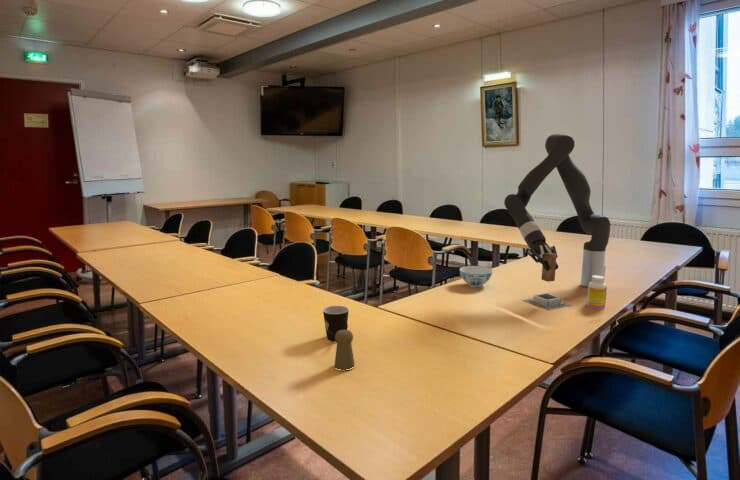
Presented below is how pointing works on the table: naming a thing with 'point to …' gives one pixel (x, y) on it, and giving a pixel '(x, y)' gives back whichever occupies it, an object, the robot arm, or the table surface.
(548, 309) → the coaster
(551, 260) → the brown wooden block
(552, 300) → the open square frame
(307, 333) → the table surface
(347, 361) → the cork
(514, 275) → the table surface
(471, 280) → the chinaware
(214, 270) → the table surface
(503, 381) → the table surface
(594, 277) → the supplement bottle
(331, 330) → the coffee mug
